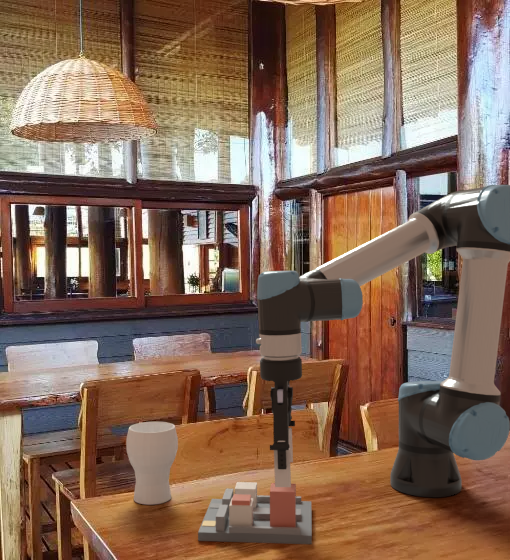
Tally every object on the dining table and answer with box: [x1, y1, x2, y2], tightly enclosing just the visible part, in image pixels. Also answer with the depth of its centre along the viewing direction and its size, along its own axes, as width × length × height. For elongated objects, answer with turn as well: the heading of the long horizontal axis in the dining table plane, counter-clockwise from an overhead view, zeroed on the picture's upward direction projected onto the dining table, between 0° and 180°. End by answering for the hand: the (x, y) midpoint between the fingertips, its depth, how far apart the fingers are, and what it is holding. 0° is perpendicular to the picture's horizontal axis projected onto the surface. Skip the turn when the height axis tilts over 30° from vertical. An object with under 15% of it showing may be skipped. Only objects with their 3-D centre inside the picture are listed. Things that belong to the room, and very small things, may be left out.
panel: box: [197, 488, 313, 545], centre depth 127 cm, size 20×17×4 cm
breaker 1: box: [234, 481, 258, 508], centre depth 132 cm, size 4×4×4 cm
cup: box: [125, 421, 179, 506], centre depth 141 cm, size 11×11×15 cm
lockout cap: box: [269, 482, 297, 527], centre depth 123 cm, size 4×4×7 cm
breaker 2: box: [229, 493, 253, 526], centre depth 123 cm, size 4×4×5 cm
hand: (284, 473), depth 123 cm, fingers open, 13 cm apart
